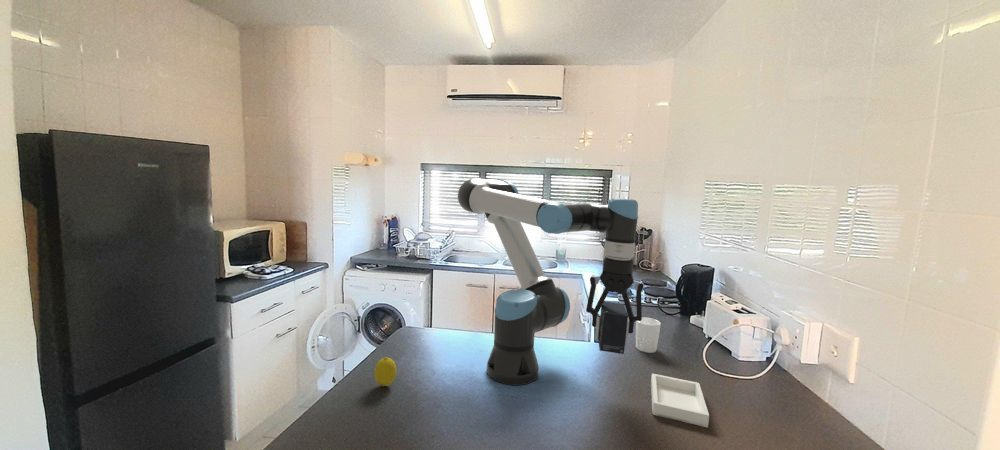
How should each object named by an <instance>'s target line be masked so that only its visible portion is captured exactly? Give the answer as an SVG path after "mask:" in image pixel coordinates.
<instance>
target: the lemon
mask: <svg viewBox="0 0 1000 450" xmlns="http://www.w3.org/2000/svg"><path fill="white" fill-rule="evenodd" d="M395 362H396V361H394V360H393V359H392V358H390V357H387V356H385V357H383V358H380V360H378V362H377V363H376V364H375V368H374V379H375V382H376V383H377V384H378V385H380V386H382V387H384V386H386V387H387V386H389V385H391V384H392V383H393V382H394V381H395V379H396V376H397V366H396V363H395Z"/></svg>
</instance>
